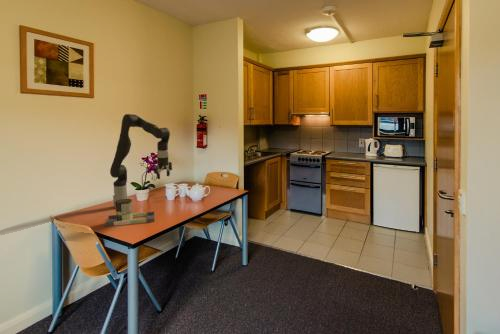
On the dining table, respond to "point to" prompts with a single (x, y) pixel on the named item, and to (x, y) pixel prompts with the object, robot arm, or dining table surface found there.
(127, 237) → the dining table surface
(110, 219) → the push track
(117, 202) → the coffee can
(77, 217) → the dining table surface
